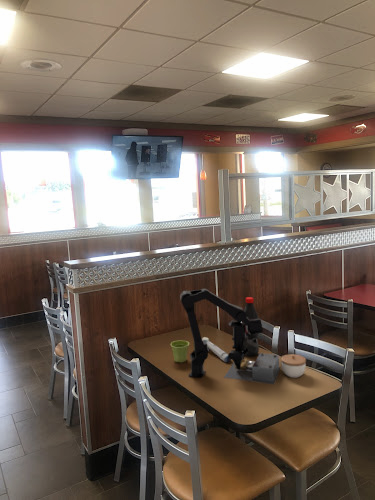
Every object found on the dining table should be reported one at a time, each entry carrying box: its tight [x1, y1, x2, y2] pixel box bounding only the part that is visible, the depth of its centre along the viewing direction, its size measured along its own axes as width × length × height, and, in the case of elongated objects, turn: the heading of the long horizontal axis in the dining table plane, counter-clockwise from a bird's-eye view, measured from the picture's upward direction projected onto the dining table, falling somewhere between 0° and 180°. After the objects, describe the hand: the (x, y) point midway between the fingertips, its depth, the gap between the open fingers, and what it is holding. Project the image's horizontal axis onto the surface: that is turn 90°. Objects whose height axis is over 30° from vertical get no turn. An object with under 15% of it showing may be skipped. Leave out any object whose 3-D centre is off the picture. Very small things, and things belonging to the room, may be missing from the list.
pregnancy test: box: [201, 336, 232, 363], centre depth 203 cm, size 5×7×25 cm
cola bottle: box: [241, 296, 260, 358], centre depth 199 cm, size 8×8×30 cm
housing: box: [252, 352, 280, 383], centre depth 177 cm, size 16×9×7 cm, turn 158°
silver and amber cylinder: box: [235, 358, 256, 370], centre depth 180 cm, size 5×10×5 cm, turn 68°
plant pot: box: [170, 340, 190, 363], centre depth 197 cm, size 9×9×9 cm
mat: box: [223, 362, 282, 385], centre depth 180 cm, size 18×22×1 cm
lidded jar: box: [280, 353, 307, 379], centre depth 175 cm, size 11×11×9 cm
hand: (240, 367), depth 182 cm, fingers closed on silver and amber cylinder, 5 cm apart
